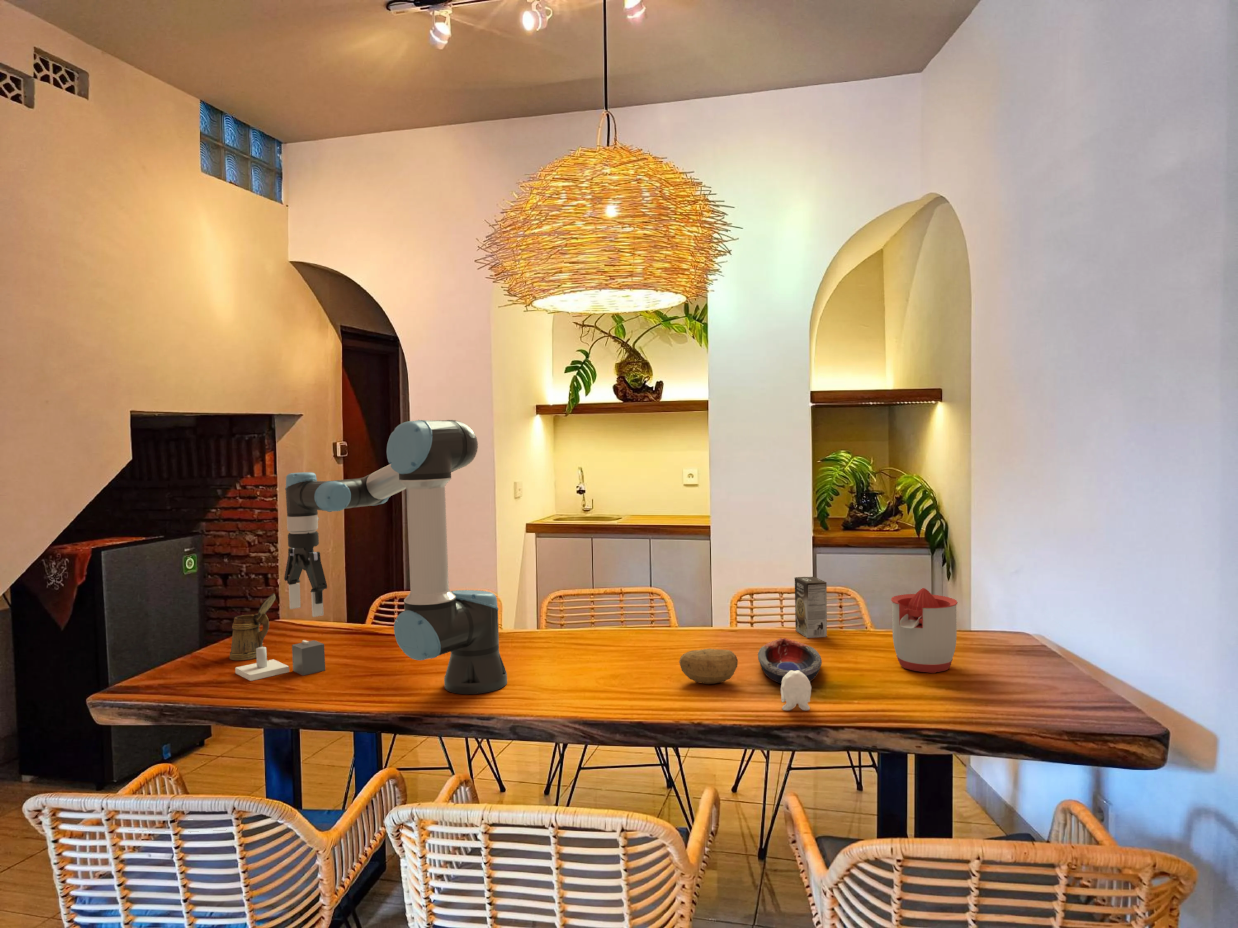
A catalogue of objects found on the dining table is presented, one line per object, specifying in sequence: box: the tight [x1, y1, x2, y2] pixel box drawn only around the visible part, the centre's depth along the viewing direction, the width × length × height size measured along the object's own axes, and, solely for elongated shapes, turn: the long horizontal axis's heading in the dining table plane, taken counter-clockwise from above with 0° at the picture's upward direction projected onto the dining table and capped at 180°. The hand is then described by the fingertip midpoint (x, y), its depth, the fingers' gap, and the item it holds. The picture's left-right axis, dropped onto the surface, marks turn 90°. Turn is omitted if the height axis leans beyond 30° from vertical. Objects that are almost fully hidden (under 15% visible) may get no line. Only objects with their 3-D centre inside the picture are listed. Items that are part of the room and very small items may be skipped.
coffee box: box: [794, 576, 828, 639], centre depth 242 cm, size 9×6×16 cm
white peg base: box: [234, 646, 290, 682], centre depth 217 cm, size 10×10×6 cm
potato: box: [678, 648, 739, 685], centre depth 199 cm, size 10×14×8 cm
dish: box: [757, 637, 823, 685], centre depth 207 cm, size 16×31×5 cm, turn 170°
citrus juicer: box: [890, 587, 958, 674], centre depth 206 cm, size 16×17×20 cm
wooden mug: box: [229, 592, 277, 661], centre depth 233 cm, size 9×14×18 cm, turn 84°
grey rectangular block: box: [291, 639, 326, 676], centre depth 217 cm, size 6×6×8 cm
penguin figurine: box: [780, 670, 812, 711], centre depth 182 cm, size 6×8×12 cm
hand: (306, 612), depth 217 cm, fingers open, 13 cm apart
